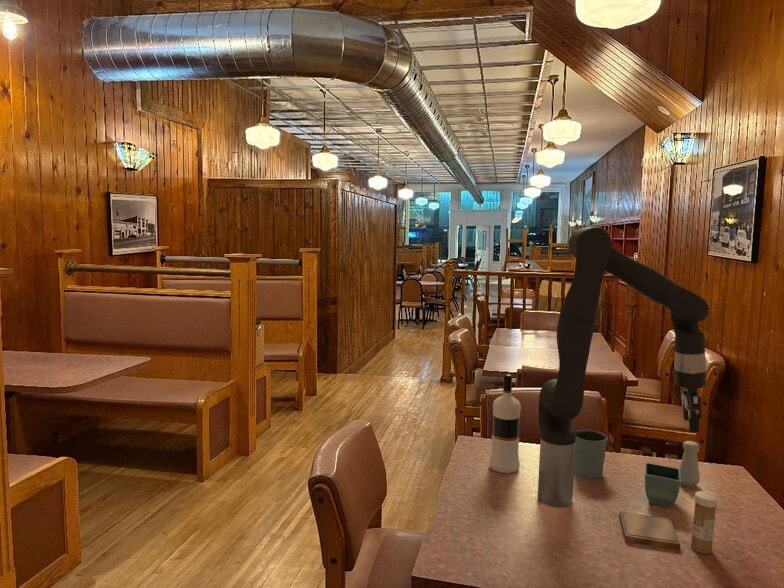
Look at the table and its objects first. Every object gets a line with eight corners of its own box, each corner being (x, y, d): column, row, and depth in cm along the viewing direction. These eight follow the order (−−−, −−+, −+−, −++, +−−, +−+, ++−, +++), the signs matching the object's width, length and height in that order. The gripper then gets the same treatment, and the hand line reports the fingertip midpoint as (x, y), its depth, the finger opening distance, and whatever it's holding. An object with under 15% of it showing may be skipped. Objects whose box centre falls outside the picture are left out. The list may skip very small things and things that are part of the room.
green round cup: (570, 476, 168) (572, 438, 166) (570, 463, 177) (572, 427, 176) (606, 481, 165) (609, 442, 163) (604, 467, 174) (606, 431, 173)
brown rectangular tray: (624, 541, 133) (625, 535, 133) (618, 516, 144) (619, 510, 144) (679, 550, 130) (680, 543, 130) (669, 524, 141) (669, 518, 141)
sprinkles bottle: (686, 544, 132) (690, 490, 131) (704, 543, 133) (708, 490, 131) (698, 555, 128) (703, 500, 126) (717, 554, 128) (722, 499, 127)
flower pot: (677, 498, 155) (679, 468, 154) (678, 513, 147) (681, 480, 146) (642, 492, 158) (645, 462, 157) (642, 505, 151) (644, 474, 149)
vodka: (484, 463, 176) (487, 371, 173) (511, 460, 178) (515, 370, 175) (496, 476, 167) (500, 379, 164) (524, 473, 169) (529, 377, 166)
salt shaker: (703, 489, 160) (706, 446, 159) (683, 489, 161) (686, 446, 159) (692, 480, 166) (696, 438, 165) (673, 480, 166) (676, 438, 165)
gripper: (670, 361, 157) (671, 416, 159) (679, 375, 143) (680, 435, 145) (700, 361, 154) (701, 416, 156) (712, 375, 141) (712, 436, 143)
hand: (691, 425), depth 151 cm, fingers open, 8 cm apart
